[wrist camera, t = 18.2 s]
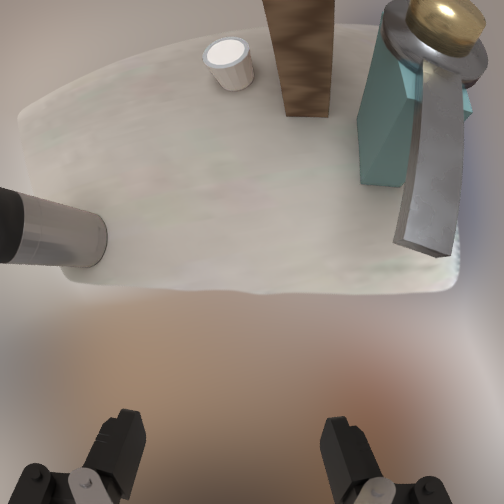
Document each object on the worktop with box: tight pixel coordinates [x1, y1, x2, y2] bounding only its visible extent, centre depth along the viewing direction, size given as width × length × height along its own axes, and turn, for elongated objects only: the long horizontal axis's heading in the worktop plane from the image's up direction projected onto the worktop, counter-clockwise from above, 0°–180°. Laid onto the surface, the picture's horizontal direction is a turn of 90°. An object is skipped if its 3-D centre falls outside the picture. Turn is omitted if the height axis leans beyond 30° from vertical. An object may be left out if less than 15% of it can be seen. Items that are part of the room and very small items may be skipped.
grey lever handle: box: [380, 0, 488, 258], centre depth 12 cm, size 9×22×6 cm, turn 163°
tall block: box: [357, 12, 473, 187], centre depth 25 cm, size 6×10×21 cm, turn 177°
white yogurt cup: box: [203, 37, 254, 91], centre depth 37 cm, size 7×7×7 cm
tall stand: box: [262, 0, 335, 117], centre depth 22 cm, size 6×11×32 cm, turn 177°
